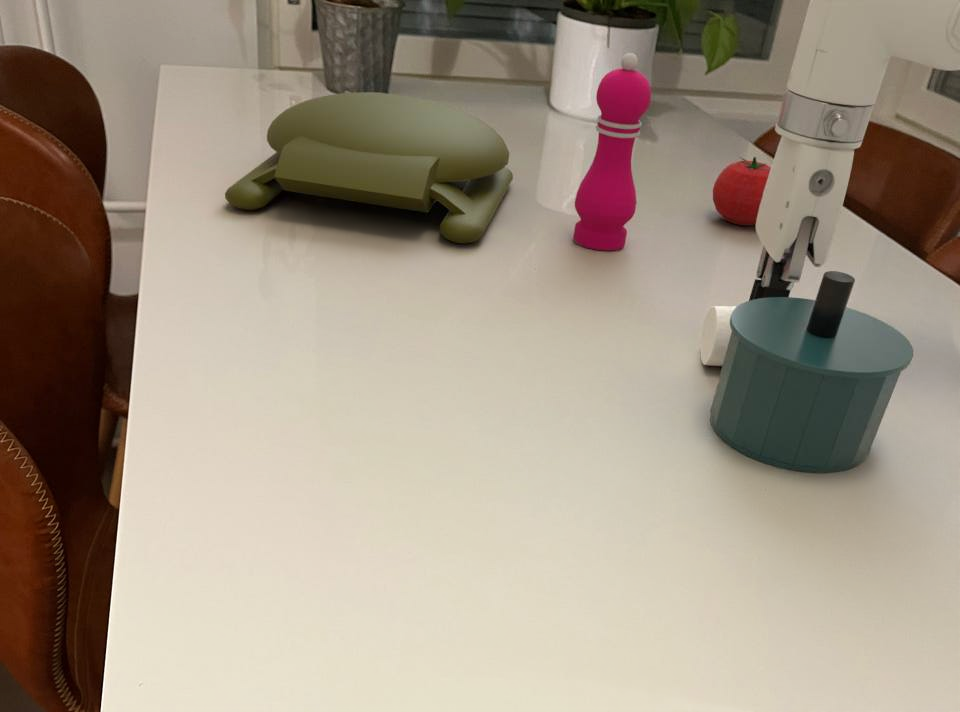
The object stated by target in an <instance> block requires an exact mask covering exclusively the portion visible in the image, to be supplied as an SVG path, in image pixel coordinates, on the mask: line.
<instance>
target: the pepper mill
mask: <svg viewBox="0 0 960 712" xmlns="http://www.w3.org/2000/svg"><path fill="white" fill-rule="evenodd" d="M638 64H639V60H638V57H637V55H636V54H635V53H633V52H627V53H625V54H624V55H623V57H622V58H621V63H620V65H621V68H616V69H613V70H610V71H609V72H607V73H605V75H604V76H603V78H601V80H600V82H599V84H598V87H597V90H596V95H595V97H596V98H595V99H596V104H597V106H598V109H599V111H600V113H601V114H600V115H598V116H597V118H596V120H597V123H596V127H595V131H597V132H598V139H597V146H596V151H595V154H594V157H593V160H592V163H591V164H590V166H589V168H588V170H587V172H586V173H585V175H584V177H583V179H582V181H581V182H580V183H579V186H578V189H577V192H576V194H575V198H574V209H575V211H576V214H577V216H578V217H579V218H580V219H579V220H578V221H576V222H575V225H574V232H573V240H574V242H575V243H577V244H578V245H579V246H581V247H584V248H587V249H590V250H594V251H603V252H604V251H605V252H606V251H607V252H612V251H618V250H619V251H620V250H621V249H622V248H624V247H625V245H626V240H627V235H628V230H627V228H626V227H625V226H626V224H628V222H630V221H631V219H633V217H634V215H635V213H636V208H637V191H636V186H635V181H634V177H633V171H632V157H633V150H634V144H635V142H636V138H638V137H639V136H640V135H641V131H640V130H641V127H642V121H641V120H640V119H641V117H642V116H643V115H644V114H645V113H646V112H647V111H648V109H649V107H650V104H651V100H652V87H651V85H650V82H649V80H648V78H647V76H645V75H644V74H643V73H642V72H640V71H638V70H636V69H637V67H638Z"/></svg>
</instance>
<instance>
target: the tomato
mask: <svg viewBox="0 0 960 712" xmlns="http://www.w3.org/2000/svg"><path fill="white" fill-rule="evenodd" d="M739 158H740V159H741V160H739V161H736V162H732V163H729V164H728V165H727V166H726V167H725V168H724V169H722V171H720V173H719V175H718V176H717V178H716V180H715V182H714V184H713V187H712V201H713V204H714V207H715V210H716V211H717V213H718V214H719V215H720V216H721V217H722V218H723V219H724V220H726V221H727V222H729V223H732V224H734V223H735V224H734V225H737V224H739V225H738V226H754V225H756V220H757V215H758V211H759V207H760V203H761V199H762V196H763V192H764V189H765V186H766V182H767V179H768V176H769V173H770V169H771V166H769V165H768V164H767V163H763V162H759V161H757V157H756V156H753V159H752V160H747V159H746V158H745V159H744V158H743V157H741V156H739Z"/></svg>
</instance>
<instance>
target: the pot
mask: <svg viewBox="0 0 960 712" xmlns="http://www.w3.org/2000/svg"><path fill="white" fill-rule="evenodd" d="M901 372H902V371H901ZM901 372H899V373H896V374H894V375H890V376H885V377H879V378H844V377H836V376H828V375H823V374H817V373H813V372H809V371H805V370H801V369H797V368H794V367H791V366H788V365H785V364H782V363H779V362H777V361H774V360H772V359H770V358H768V357H765V356H763V355H761V354H759V353H758V352H756V351H754V350H752V349H751V348H749V347H748V346H746V345H745V344H744V343H743V342H741V341H740V340H739V339H738V338H737V337H736V336H735V335H734V333H733V331H732V333H731V336H730V340H729V344H728V347H727V351H726V355H725V359H724V362H723V366H721V370H720V373H719V377H718V381H717V384H716V389H715V392H714V396H713V400H712V404H711V407H710V411H709V413H710V415H709V416H710V418H709V421H710V425H711V427H712V428H713V431H714V433H715V434H716V435H717V436H718V437H719V438H720V439H721V440H722V441H723V442H725V443H726V445H728V446H730V447H731V448H733V449H734V450H735V451H737V452H739V453H741V454H743V455H745V456H747V457H749V458H751V459H753V460H756V461H759V462H760V463H764V464H766V465H770V466H773V467H777V468H781V469H786V470H790V471H794V472H795V471H796V472H803V473H820V474H821V473H823V474H826V473H827V474H828V473H836V472H842V471H846V470H850V469H853V468H854V467H856V466H859V465H860V464H861V463H862V462H863V461H864V460H865V459H866V458H867V457H868V455H870V451H871V450H872V447H873V443H874V441H875V439H876V436H877V433H878V431H879V429H880V426H881V424H882V420H883V418H884V415H885V414H886V410H887V408H888V406H889V403H890V400H891V398H892V395H893V393H894V390H895V388H896V385H897V383H898V380H899V378H900V375H901Z"/></svg>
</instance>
